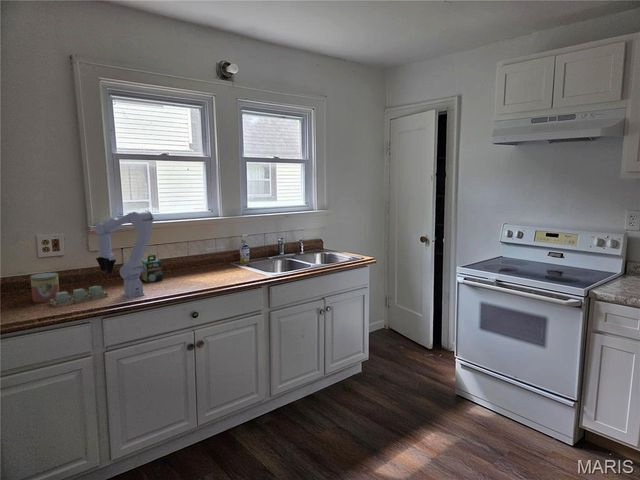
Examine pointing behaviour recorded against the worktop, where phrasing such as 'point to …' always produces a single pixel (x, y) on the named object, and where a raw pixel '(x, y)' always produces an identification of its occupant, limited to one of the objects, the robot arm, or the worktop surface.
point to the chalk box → (152, 269)
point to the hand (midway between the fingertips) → (106, 271)
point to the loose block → (95, 290)
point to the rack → (78, 299)
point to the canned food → (44, 286)
